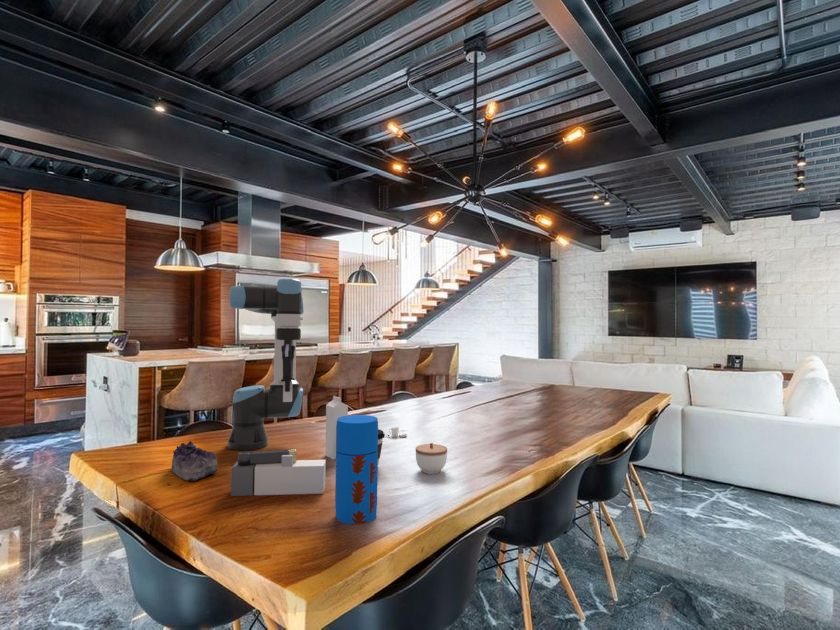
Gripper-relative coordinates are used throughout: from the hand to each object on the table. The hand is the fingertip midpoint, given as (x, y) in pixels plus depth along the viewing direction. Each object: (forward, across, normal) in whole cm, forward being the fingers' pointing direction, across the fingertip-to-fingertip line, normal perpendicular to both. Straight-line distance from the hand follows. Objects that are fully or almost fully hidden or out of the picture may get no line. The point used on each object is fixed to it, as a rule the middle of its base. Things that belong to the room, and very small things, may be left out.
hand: (287, 401), depth 148 cm
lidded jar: (+25, 0, -47) cm, 53 cm away
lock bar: (+16, -10, +5) cm, 19 cm away
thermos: (+25, -32, -20) cm, 45 cm away
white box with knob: (+24, -11, +1) cm, 27 cm away
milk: (+25, +22, -16) cm, 37 cm away
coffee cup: (+25, +8, -27) cm, 37 cm away
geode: (+25, +10, +31) cm, 41 cm away
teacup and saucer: (+25, +45, -42) cm, 66 cm away
